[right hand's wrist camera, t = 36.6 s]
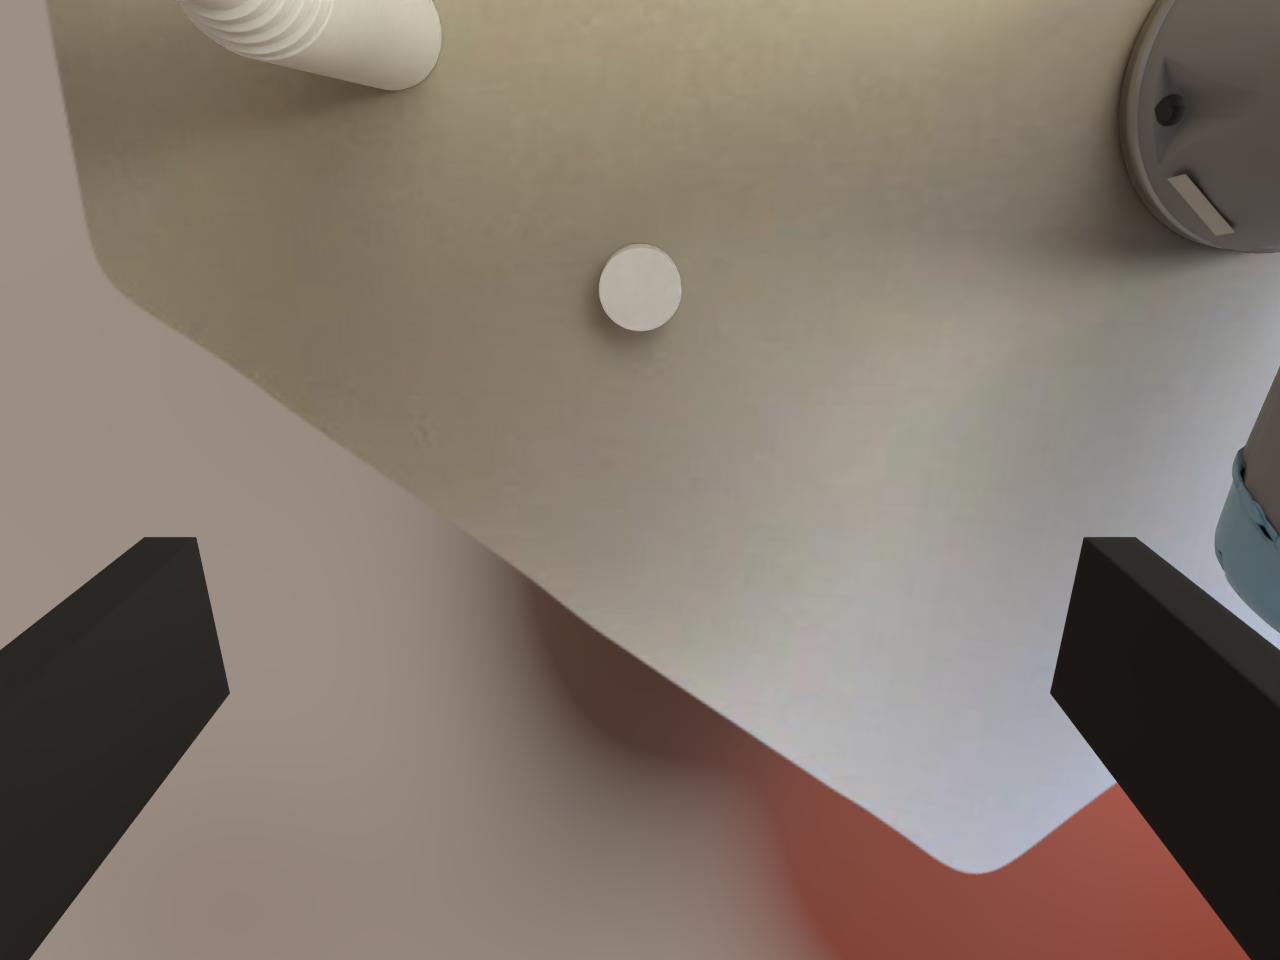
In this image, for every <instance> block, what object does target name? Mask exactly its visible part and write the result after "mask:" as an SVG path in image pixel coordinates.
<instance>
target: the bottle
mask: <svg viewBox="0 0 1280 960" xmlns="http://www.w3.org/2000/svg"><path fill="white" fill-rule="evenodd" d="M176 1H177V3H178V4H179V6H180V7H181V8H182V10H183V11H184V13H185V14H186V15H187V16H188V18H189V19H190V20H191V22H192V23H193V24H194V25H195V26H196V27H197V28H198V29H199V30H200V31H202V32H203V33H204V34H205V35H206V36H208V37H209V38H210V39H212V40H214V41H215V42H217V43H218V44H220V45H221V46H223V47H224V48H226V49H227V50H229V51H231V52H233V53H235V54H237V55H240V56H243V57H246V58H250V59H254V60H258V61H263V62H267V63H271V64H276V65H280V66H284V67H289V68H293V69H297V70H301V71H306V72H310V73H314V74H319V75H323V76H327V77H332V78H336V79H340V80H345V81H349V82H353V83H358V84H362V85H366V86H371V87H375V88H379V89H384V90H393V91H395V90H403V89H407V88H410V87H412V86H415V85H416V84H418V83H420V82H421V81H422V80H423V79H425V78H426V77H427V76H428V74H429V73H430V72H431V71H432V69H433V68H434V66H435V64H436V62H437V59H438V57H439V54H440V49H441V41H442V33H441V24H440V20H439V16H438V13H437V11H436V8H435V6H434V4H433V2H432V0H176Z"/></svg>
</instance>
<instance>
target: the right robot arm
mask: <svg viewBox="0 0 1280 960" xmlns="http://www.w3.org/2000/svg"><path fill="white" fill-rule="evenodd" d="M1119 134H1120V143H1121V150H1122V154H1123V159H1124V163H1125V166H1126V169H1127V172H1128V175H1129V178H1130V180H1131V182H1132V184H1133V186H1134V188H1135V190H1136V192H1137V194H1138V195H1139V197H1140V198H1141V200H1142V202H1143V203H1144V204H1145V205H1146V207H1147V208H1148V209H1149V210H1150V212H1151V213H1152V214H1153V215H1154V216H1155V217H1156V218H1157V219H1158V220H1159V221H1160V222H1162V223H1163V224H1164V225H1165V226H1167V227H1168V228H1169V229H1171V230H1172V231H1174V232H1176V233H1177V234H1179V235H1181V236H1183V237H1185V238H1187V239H1189V240H1192V241H1194V242H1196V243H1200V244H1203V245H1206V246H1210V247H1216V248H1222V249H1227V250H1233V251H1239V252H1248V253H1273V252H1280V0H1158V1H1157V3H1156V5H1155V6H1154V8H1153V9H1152V11H1151V13H1150V14H1149V16H1148V18H1147V20H1146V22H1145V24H1144V26H1143V27H1142V29H1141V31H1140V34H1139V36H1138V38H1137V41H1136V43H1135V45H1134V47H1133V50H1132V53H1131V56H1130V59H1129V62H1128V65H1127V69H1126V73H1125V77H1124V81H1123V86H1122V92H1121V98H1120V110H1119ZM1232 476H1233V483H1232V486H1231V488H1230V491H1229V494H1228V497H1227V500H1226V502H1225V505H1224V508H1223V511H1222V513H1221V516H1220V519H1219V522H1218V525H1217V528H1216V532H1215V552H1216V556H1217V558H1218V560H1219V563H1220V565H1221V567H1222V569H1223V570H1224V571H1225V576H1226V578H1227V580H1228V582H1229V584H1230V585H1231V587H1232V588H1233V589H1234V590H1235V592H1236V593H1237V594H1238V595H1239V597H1240V598H1241V599H1242V600H1243V601H1244V602H1245V603H1246V604H1247V605H1248V606H1249V607H1250V608H1251V609H1252V610H1253V611H1254V612H1255V613H1256V614H1257V615H1258V616H1259V617H1260V618H1262V619H1263V620H1264V621H1265V622H1266V623H1267V624H1269V625H1270V626H1271V627H1272V628H1274V629H1275V630H1276V631H1277V632H1279V633H1280V367H1279V370H1278V372H1277V374H1276V377H1275V379H1274V381H1273V383H1272V386H1271V388H1270V390H1269V393H1268V395H1267V397H1266V400H1265V402H1264V404H1263V406H1262V409H1261V411H1260V413H1259V416H1258V418H1257V420H1256V423H1255V425H1254V427H1253V429H1252V432H1251V434H1250V436H1249V439H1248V441H1247V443H1246V445H1245V446H1244V447H1243V448H1242V449H1240V450H1239V451H1238V453H1237V455H1236V457H1235V460H1234V463H1233V470H1232ZM229 694H230V692H229V687H228V683H227V678H226V673H225V669H224V664H223V659H222V655H221V650H220V645H219V641H218V636H217V631H216V627H215V622H214V618H213V613H212V608H211V604H210V599H209V595H208V590H207V585H206V581H205V576H204V571H203V567H202V562H201V557H200V553H199V548H198V543H197V539H196V537H144V538H143V539H142V540H140V541H139V542H138V543H136V544H135V545H134V546H133V547H131V548H130V549H129V550H128V551H126V552H125V553H124V554H122V555H121V556H120V557H119V558H117V559H116V560H115V561H114V562H112V563H111V564H110V565H108V566H107V567H106V568H105V569H103V570H102V571H101V572H99V573H98V574H97V575H96V576H94V577H93V578H92V579H91V580H89V581H88V582H87V583H85V584H84V585H83V586H82V587H80V588H79V589H78V590H77V591H75V592H74V593H73V594H71V595H70V596H69V597H68V598H66V599H65V600H64V601H63V602H61V603H60V604H59V605H57V606H56V607H55V608H54V609H52V610H51V611H50V612H48V613H47V614H46V615H45V616H43V617H42V618H41V619H40V620H38V621H37V622H36V623H34V624H33V625H32V626H31V627H29V628H28V629H27V630H25V631H24V632H23V633H22V634H20V635H19V636H18V637H17V638H15V639H14V640H13V641H11V642H10V643H9V644H8V645H6V646H5V647H4V648H2V649H1V650H0V960H29V959H30V958H31V956H32V955H33V954H34V952H35V951H36V950H37V948H38V947H39V946H40V944H41V943H42V942H43V940H44V939H45V938H46V936H47V935H48V934H49V932H50V931H51V930H52V928H53V927H54V926H55V924H56V923H57V922H58V920H59V919H60V918H61V916H62V915H63V914H64V913H65V911H66V910H67V909H68V907H69V906H70V905H71V903H72V902H73V901H74V899H75V898H76V897H77V895H78V894H79V893H80V891H81V890H82V889H83V887H84V886H85V885H86V883H87V882H88V881H89V879H90V878H91V877H92V875H93V874H94V873H95V871H96V870H97V869H98V867H99V866H100V865H101V863H102V862H103V861H104V859H105V858H106V857H107V856H108V854H109V853H110V852H111V850H112V849H113V848H114V846H115V845H116V844H117V842H118V841H119V840H120V838H121V837H122V836H123V834H124V833H125V832H126V830H127V829H128V828H129V826H130V825H131V824H132V822H133V821H134V820H135V818H136V817H137V816H138V814H139V813H140V812H141V810H142V809H143V808H144V806H145V805H146V804H147V802H148V801H149V800H150V798H151V797H152V796H153V794H154V793H155V792H156V790H157V789H158V788H159V786H160V785H161V784H162V783H163V781H164V780H165V779H166V777H167V776H168V774H169V773H170V772H171V771H172V769H173V768H174V767H175V765H176V764H177V763H178V761H179V760H180V759H181V757H182V756H183V755H184V753H185V752H186V751H187V749H188V748H189V747H190V745H191V744H192V743H193V741H194V740H195V739H196V737H197V736H198V735H199V733H200V732H201V731H202V729H203V728H204V727H205V725H206V724H207V723H208V721H209V720H210V719H211V717H212V716H213V715H214V714H215V712H216V711H217V710H218V708H219V707H220V706H221V704H222V703H223V701H224V700H225V699H226V698H227V696H228V695H229ZM1050 694H1051V695H1052V696H1053V698H1054V699H1055V700H1056V702H1057V703H1058V704H1059V706H1060V707H1061V708H1062V710H1063V711H1064V712H1065V714H1066V715H1067V716H1068V717H1069V719H1070V720H1071V721H1072V723H1073V724H1074V725H1075V727H1076V728H1077V729H1078V731H1079V732H1080V733H1081V735H1082V736H1083V737H1084V739H1085V740H1086V741H1087V743H1088V744H1089V745H1090V747H1091V748H1092V749H1093V751H1094V752H1095V753H1096V755H1097V756H1098V757H1099V759H1100V760H1101V761H1102V763H1103V764H1104V765H1105V767H1106V768H1107V769H1108V771H1109V772H1110V773H1111V775H1112V776H1113V777H1114V779H1115V780H1116V781H1117V783H1118V784H1119V785H1120V786H1121V788H1122V789H1123V790H1124V792H1125V793H1126V794H1127V796H1128V797H1129V798H1130V800H1131V801H1132V802H1133V804H1134V805H1135V806H1136V808H1137V809H1138V810H1139V812H1140V813H1141V814H1142V816H1143V817H1144V818H1145V820H1146V821H1147V822H1148V824H1149V825H1150V826H1151V828H1152V829H1153V830H1154V832H1155V833H1156V834H1157V836H1158V837H1159V838H1160V840H1161V841H1162V842H1163V844H1164V845H1165V846H1166V847H1167V849H1168V850H1169V851H1170V853H1171V854H1172V856H1173V857H1174V858H1175V859H1176V861H1177V862H1178V863H1179V865H1180V866H1181V867H1182V869H1183V870H1184V871H1185V873H1186V874H1187V875H1188V877H1189V878H1190V879H1191V881H1192V882H1193V883H1194V885H1195V886H1196V887H1197V889H1198V890H1199V891H1200V893H1201V894H1202V895H1203V897H1204V898H1205V899H1206V901H1207V902H1208V903H1209V905H1210V906H1211V907H1212V909H1213V910H1214V911H1215V913H1216V914H1217V915H1218V917H1219V918H1220V919H1221V920H1222V922H1223V923H1224V925H1225V926H1226V927H1227V928H1228V930H1229V931H1230V932H1231V934H1232V935H1233V936H1234V938H1235V939H1236V940H1237V942H1238V943H1239V944H1240V946H1241V947H1242V948H1243V950H1244V951H1245V952H1246V954H1247V955H1248V956H1249V958H1250V959H1251V960H1280V650H1279V649H1278V648H1276V647H1275V646H1274V645H1272V644H1271V643H1270V642H1269V641H1267V640H1266V639H1265V638H1263V637H1262V636H1261V635H1260V634H1258V633H1257V632H1256V631H1255V630H1253V629H1252V628H1251V627H1249V626H1248V625H1247V624H1246V623H1244V622H1243V621H1242V620H1241V619H1239V618H1238V617H1237V616H1235V615H1234V614H1233V613H1232V612H1230V611H1229V610H1228V609H1226V608H1225V607H1224V606H1223V605H1221V604H1220V603H1219V602H1218V601H1216V600H1215V599H1214V598H1212V597H1211V596H1210V595H1209V594H1207V593H1206V592H1205V591H1204V590H1202V589H1201V588H1200V587H1198V586H1197V585H1196V584H1195V583H1193V582H1192V581H1191V580H1189V579H1188V578H1187V577H1186V576H1184V575H1183V574H1182V573H1181V572H1179V571H1178V570H1177V569H1175V568H1174V567H1173V566H1172V565H1170V564H1169V563H1168V562H1167V561H1165V560H1164V559H1163V558H1161V557H1160V556H1159V555H1158V554H1156V553H1155V552H1154V551H1152V550H1151V549H1150V548H1149V547H1147V546H1146V545H1145V544H1144V543H1142V542H1141V541H1140V540H1138V539H1137V538H1136V537H1084V539H1083V543H1082V548H1081V553H1080V557H1079V562H1078V567H1077V571H1076V576H1075V581H1074V585H1073V590H1072V594H1071V599H1070V604H1069V608H1068V613H1067V618H1066V622H1065V627H1064V631H1063V636H1062V641H1061V645H1060V650H1059V655H1058V659H1057V664H1056V669H1055V673H1054V678H1053V682H1052V687H1051V692H1050Z"/></svg>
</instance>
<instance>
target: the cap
mask: <svg viewBox="0 0 1280 960" xmlns="http://www.w3.org/2000/svg"><path fill="white" fill-rule="evenodd" d="M681 293H682V286H681V280H680V276H679V273H678V270H677V267H676V265H675V263H674V262H673V260H672V259H671V258H670V257H669V256H668V255H667V254H666V253H665V252H664V251H662V250H661V249H659V248H657V247H655V246H652V245H648V244H632V245H628V246H626V247H623V248H621V249H620V250H618V251H617V252H615V253H614V254H613V255H612V256H611V257H610V258H609V260H608V261H607V263H606V264H605V266H604V268H603V271H602V274H601V278H600V282H599V297H600V301H601V304H602V307H603V309H604V311H605V312H606V314H607V315H608V316H609V318H610V319H611V320H612V321H614V322H615V323H616V324H618V325H619V326H621V327H623V328H625V329H628V330H632V331H648V330H652V329H655V328H658V327H659V326H661V325H663V324H664V323H666V322H667V321H668V320H669V319H670V318H671V317H672V316H673V314H674V313H675V311H676V310H677V308H678V305H679V303H680V299H681Z"/></svg>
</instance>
